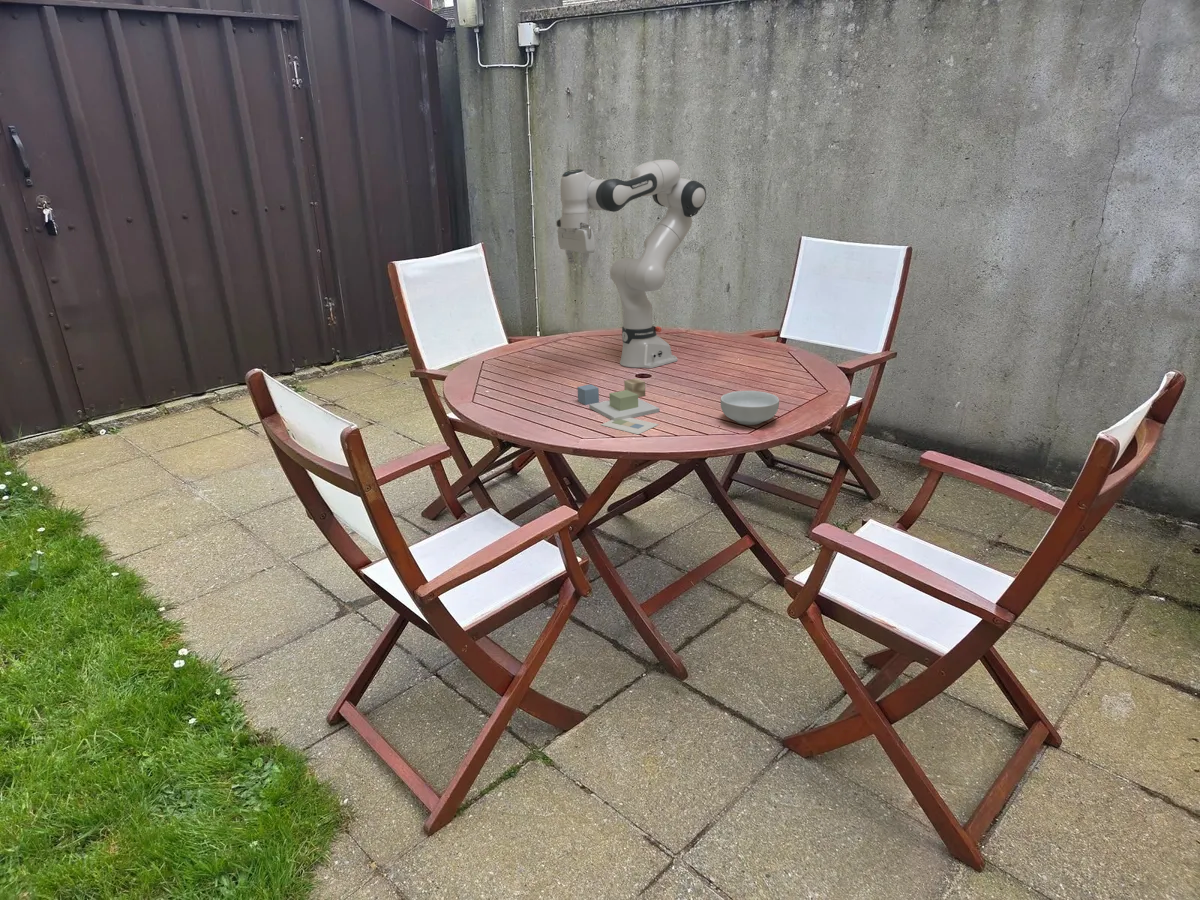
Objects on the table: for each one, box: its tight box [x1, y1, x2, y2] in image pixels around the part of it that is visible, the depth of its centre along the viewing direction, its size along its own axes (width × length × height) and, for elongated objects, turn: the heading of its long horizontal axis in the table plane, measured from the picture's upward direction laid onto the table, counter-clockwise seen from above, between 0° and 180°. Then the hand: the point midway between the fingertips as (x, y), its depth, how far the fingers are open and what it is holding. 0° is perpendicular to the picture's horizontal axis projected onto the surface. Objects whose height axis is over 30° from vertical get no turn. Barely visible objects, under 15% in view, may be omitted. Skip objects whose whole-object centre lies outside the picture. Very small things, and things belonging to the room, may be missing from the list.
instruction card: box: [600, 417, 659, 435], centre depth 220 cm, size 10×14×1 cm
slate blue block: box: [577, 383, 600, 406], centre depth 242 cm, size 5×5×5 cm
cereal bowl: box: [720, 390, 780, 426], centre depth 219 cm, size 17×17×7 cm
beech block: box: [623, 377, 646, 398], centre depth 247 cm, size 5×5×5 cm
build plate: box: [588, 389, 660, 421], centre depth 233 cm, size 16×16×5 cm
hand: (577, 265), depth 251 cm, fingers open, 8 cm apart
